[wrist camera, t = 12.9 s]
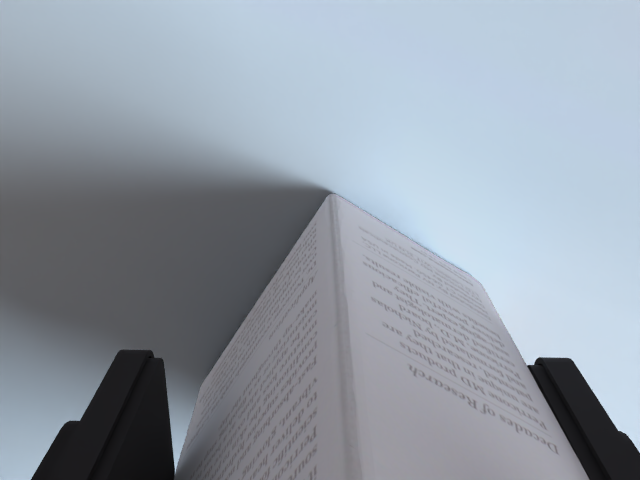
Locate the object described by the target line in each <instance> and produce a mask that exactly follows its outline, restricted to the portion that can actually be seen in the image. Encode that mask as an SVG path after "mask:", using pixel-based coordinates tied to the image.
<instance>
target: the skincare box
mask: <svg viewBox="0 0 640 480" xmlns="http://www.w3.org/2000/svg"><path fill="white" fill-rule="evenodd" d="M174 480H590V479H589V478H588V476H587V474H586V472H585V470H584V468H583V467H582V465H581V463H580V461H579V459H578V458H577V456H576V454H575V452H574V451H573V449H572V447H571V445H570V443H569V442H568V440H567V438H566V436H565V434H564V432H563V431H562V429H561V427H560V425H559V423H558V421H557V420H556V418H555V416H554V414H553V412H552V411H551V409H550V407H549V405H548V403H547V402H546V400H545V398H544V396H543V394H542V393H541V391H540V389H539V387H538V385H537V383H536V381H535V380H534V378H533V376H532V374H531V372H530V370H529V369H528V367H527V365H526V363H525V362H524V360H523V358H522V356H521V354H520V352H519V351H518V349H517V347H516V345H515V343H514V341H513V340H512V338H511V336H510V334H509V332H508V331H507V329H506V327H505V325H504V324H503V322H502V320H501V318H500V316H499V314H498V313H497V311H496V309H495V307H494V305H493V304H492V302H491V300H490V298H489V296H488V294H487V293H486V291H485V289H484V287H483V286H482V284H481V283H480V282H479V281H477V280H476V279H475V278H474V277H472V276H471V275H469V274H468V273H466V272H464V271H462V270H460V269H459V268H457V267H455V266H453V265H452V264H450V263H448V262H446V261H445V260H443V259H441V258H439V257H438V256H436V255H435V254H433V253H431V252H430V251H428V250H426V249H425V248H423V247H421V246H420V245H418V244H417V243H415V242H414V241H412V240H410V239H409V238H407V237H406V236H404V235H402V234H401V233H399V232H398V231H396V230H394V229H393V228H391V227H389V226H388V225H386V224H385V223H383V222H381V221H380V220H378V219H376V218H375V217H373V216H371V215H370V214H368V213H367V212H365V211H363V210H362V209H360V208H359V207H357V206H355V205H354V204H352V203H350V202H349V201H347V200H345V199H343V198H342V197H340V196H338V195H336V194H330V195H328V196H327V197H326V199H325V200H324V202H323V203H322V205H321V206H320V208H319V209H318V211H317V212H316V214H315V215H314V217H313V218H312V220H311V221H310V223H309V224H308V226H307V227H306V229H305V230H304V232H303V233H302V235H301V236H300V238H299V239H298V241H297V242H296V244H295V245H294V247H293V248H292V250H291V251H290V253H289V254H288V256H287V257H286V259H285V260H284V262H283V263H282V265H281V266H280V268H279V269H278V271H277V272H276V274H275V275H274V277H273V278H272V280H271V281H270V283H269V284H268V285H267V287H266V288H265V290H264V291H263V293H262V294H261V296H260V297H259V299H258V300H257V302H256V304H255V305H254V307H253V308H252V309H251V311H250V312H249V314H248V315H247V317H246V318H245V320H244V321H243V323H242V324H241V326H240V327H239V329H238V330H237V332H236V333H235V335H234V337H233V338H232V340H231V341H230V343H229V344H228V346H227V347H226V349H225V350H224V352H223V353H222V355H221V356H220V358H219V359H218V361H217V362H216V364H215V365H214V367H213V368H212V370H211V371H210V373H209V374H208V376H207V377H206V378H205V380H204V381H203V383H202V385H201V386H200V390H199V393H198V397H197V401H196V404H195V408H194V411H193V415H192V418H191V422H190V425H189V428H188V431H187V435H186V438H185V442H184V445H183V448H182V451H181V455H180V458H179V461H178V465H177V469H176V472H175V477H174Z"/></svg>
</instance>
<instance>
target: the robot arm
mask: <svg viewBox="0 0 640 480" xmlns="http://www.w3.org/2000/svg"><path fill="white" fill-rule="evenodd" d="M527 367H528V369H529V370H530V372H531V374H532V376H533V378H534V380H535V381H536V383H537V385H538V387H539V389H540V391H541V393H542V394H543V396H544V398H545V400H546V402H547V403H548V405H549V407H550V409H551V411H552V412H553V414H554V416H555V418H556V420H557V421H558V423H559V425H560V427H561V429H562V431H563V432H564V434H565V436H566V438H567V440H568V442H569V443H570V445H571V447H572V449H573V451H574V452H575V454H576V456H577V458H578V459H579V461H580V463H581V465H582V467H583V468H584V470H585V472H586V474H587V476H588V478H589V479H590V480H640V453H639V451H638V450H637V448H636V447H635V445H634V444H633V442H632V441H631V440H630V438H629V437H628V436H627V435H626V434H625V433H623V432H621V431H618V430H617V428H616V427H615V425H614V424H613V422H612V421H611V419H610V418H609V416H608V414H607V413H606V411H605V410H604V408H603V407H602V405H601V404H600V402H599V401H598V399H597V397H596V396H595V394H594V393H593V391H592V390H591V388H590V387H589V385H588V384H587V382H586V380H585V379H584V377H583V376H582V374H581V373H580V371H579V370H578V368H577V367H576V365H575V363H574V362H573V361H572V360H571V359H569V358H540V357H539V358H538V359H537V360H536V361H535V364H534V365H528V366H527ZM174 477H175V468H174V458H173V448H172V438H171V428H170V418H169V408H168V398H167V388H166V378H165V369H164V362H163V359H162V358H154V354H153V352H152V351H151V350H120V351H119V352H118V353H117V355H116V357H115V359H114V361H113V362H112V364H111V366H110V368H109V370H108V371H107V373H106V375H105V377H104V379H103V380H102V382H101V384H100V386H99V388H98V390H97V391H96V393H95V395H94V397H93V399H92V400H91V402H90V404H89V406H88V408H87V409H86V411H85V413H84V415H83V417H82V418H81V420H80V421H69V422H67V423H65V424H64V426H63V427H62V428H61V430H60V431H59V433H58V435H57V436H56V438H55V440H54V441H53V443H52V445H51V446H50V448H49V450H48V452H47V453H46V455H45V457H44V458H43V460H42V462H41V463H40V465H39V467H38V469H37V470H36V472H35V474H34V475H33V477H32V479H31V480H174Z"/></svg>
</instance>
